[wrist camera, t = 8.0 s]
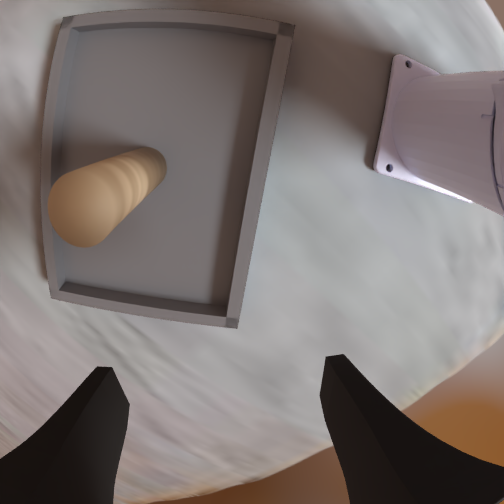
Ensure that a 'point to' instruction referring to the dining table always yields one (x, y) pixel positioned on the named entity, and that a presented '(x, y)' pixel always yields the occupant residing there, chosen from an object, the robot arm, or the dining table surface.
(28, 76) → the dining table surface
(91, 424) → the robot arm
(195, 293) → the charcoal tray
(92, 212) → the dowel pin
